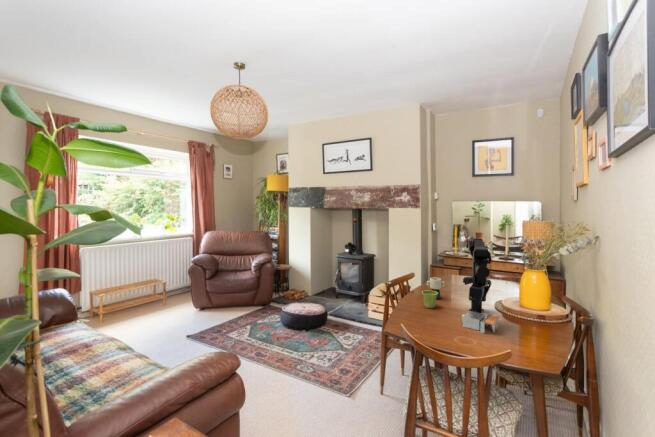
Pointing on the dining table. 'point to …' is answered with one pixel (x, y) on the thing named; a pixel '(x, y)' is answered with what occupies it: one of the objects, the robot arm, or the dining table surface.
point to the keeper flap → (491, 319)
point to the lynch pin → (481, 320)
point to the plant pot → (429, 298)
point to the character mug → (435, 285)
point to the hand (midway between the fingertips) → (480, 301)
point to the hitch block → (477, 321)
